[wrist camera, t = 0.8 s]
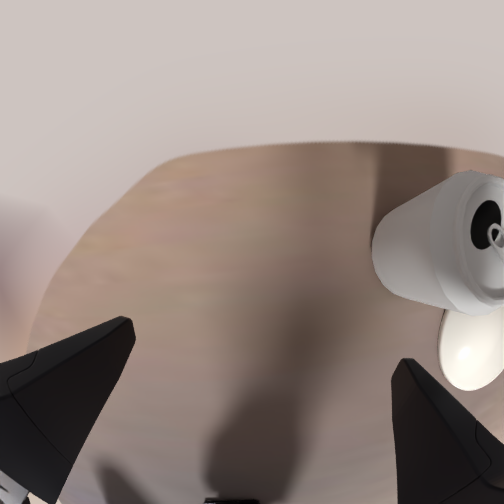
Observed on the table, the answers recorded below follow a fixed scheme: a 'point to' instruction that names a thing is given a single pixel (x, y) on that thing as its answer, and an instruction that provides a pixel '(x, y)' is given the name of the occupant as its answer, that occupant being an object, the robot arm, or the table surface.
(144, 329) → the table surface
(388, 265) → the can
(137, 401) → the table surface
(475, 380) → the saucer
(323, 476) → the table surface
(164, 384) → the table surface
